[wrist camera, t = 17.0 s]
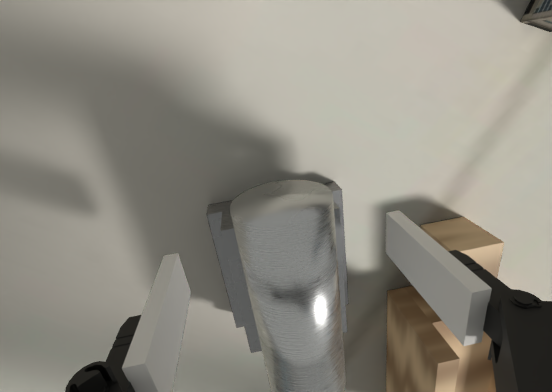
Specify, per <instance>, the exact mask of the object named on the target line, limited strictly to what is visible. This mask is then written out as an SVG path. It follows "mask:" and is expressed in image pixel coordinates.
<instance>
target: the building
mask: <svg viewBox="0 0 552 392" xmlns="http://www.w3.org/2000/svg"><path fill="white" fill-rule="evenodd" d="M521 22H522V23H525V24H528V25H531V26H534V27H537V28H540V29H543V30H546V31H549V32H552V0H531V1H530V3H529V5H528V7H527V9H526V11H525V13H524V15H523V17H522V20H521Z"/></svg>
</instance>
